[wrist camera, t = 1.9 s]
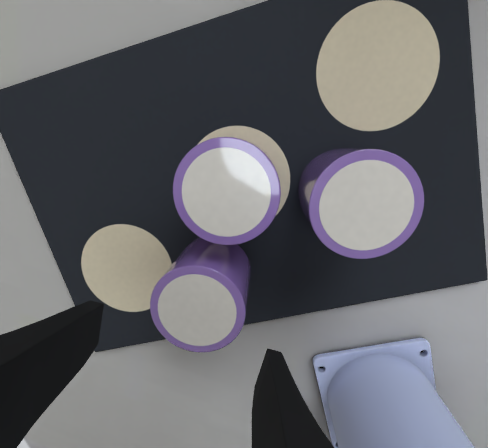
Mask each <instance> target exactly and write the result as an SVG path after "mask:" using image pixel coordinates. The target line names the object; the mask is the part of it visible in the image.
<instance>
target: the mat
mask: <svg viewBox="0 0 488 448" xmlns="http://www.w3.org/2000/svg"><path fill="white" fill-rule="evenodd" d="M0 132H1V134H2V137H3V139H4V141H5V144H6V146H7V148H8V151H9V153H10V155H11V158H12V160H13V162H14V165H15V167H16V169H17V172H18V174H19V176H20V179H21V181H22V183H23V186H24V188H25V190H26V192H27V195H28V197H29V199H30V202H31V204H32V206H33V209H34V211H35V213H36V216H37V218H38V220H39V223H40V225H41V227H42V230H43V232H44V234H45V237H46V239H47V241H48V244H49V246H50V248H51V251H52V253H53V255H54V258H55V260H56V262H57V265H58V267H59V269H60V272H61V274H62V276H63V279H64V281H65V283H66V286H67V288H68V290H69V293H70V295H71V297H72V300H73V302H74V304H75V306H77V305H79V304H82V303H84V302H87V301H90V300H92V301H95V302H99V303H103V304H104V308H103V315H102V322H101V329H100V336H99V342H98V345H97V347H96V348H95V350H94V351H95V352H98V351H104V350H109V349H114V348H120V347H125V346H131V345H136V344H142V343H147V342H153V341H158V340H164V339H166V338H165V337H164V336H163V335H162V334H161V333H160V332H159V331H158V329H157V328H156V326H155V324H154V322H153V319H152V316H151V311H150V299H151V294H152V291H153V289H154V287H155V285H156V284H157V282H158V281H159V280H160V278H161V277H162V276H163V275H164V273H165V272H166V271H167V270H168V269H169V267H170V266H171V265H172V264H173V262H174V261H175V260H176V259H177V258H178V256H179V255H180V254H181V253H182V251H183V250H184V249H185V248H186V247H187V246H188V245H189V244H190V243H191V242H193V241H194V240H196V239H198V238H200V237H199V236H197V235H196V234H195V233H193V232H192V231H191V230H190V229H189V228H188V227H187V226H186V225H185V223H184V222H183V221H182V219H181V217H180V216H179V214H178V212H177V209H176V206H175V203H174V198H173V181H174V176H175V173H176V170H177V168H178V165H179V164H180V162H181V160H182V159H183V158H184V156H185V155H186V154H187V153H188V152H189V151H190V150H191V149H192V148H194V147H195V146H196V145H198V144H200V143H202V142H204V141H206V140H209V139H212V138H217V137H234V138H239V139H242V140H246V141H249V142H252V143H254V144H256V145H258V146H259V147H261V148H262V149H263V150H264V151H265V152H266V153H267V154H268V155H269V156H270V158H271V159H272V161H273V163H274V165H275V168H276V171H277V174H278V177H279V180H280V187H281V197H280V204H279V208H278V211H277V213H276V216H275V217H274V219H273V221H272V222H271V224H270V225H269V226H268V228H267V229H266V230H265V231H264V232H262V233H261V234H260V235H259V236H257V237H255V238H254V239H252V240H250V241H247V242H244V243H241V244H237V245H238V246H240V247H241V248H242V250H243V251H244V252H245V254H246V255H247V257H248V259H249V262H250V267H251V277H250V285H249V293H248V300H247V308H246V315H245V321H244V325H245V324H251V323H256V322H262V321H267V320H272V319H278V318H283V317H289V316H294V315H300V314H305V313H311V312H316V311H321V310H327V309H332V308H338V307H343V306H349V305H354V304H360V303H365V302H371V301H376V300H381V299H387V298H392V297H398V296H403V295H409V294H414V293H420V292H425V291H430V290H436V289H441V288H447V287H452V286H458V285H463V284H469V283H474V282H479V281H485V280H487V266H486V252H485V238H484V224H483V211H482V197H481V183H480V169H479V155H478V141H477V127H476V113H475V99H474V85H473V71H472V57H471V43H470V29H469V16H468V2H467V0H268V1H265V2H262V3H259V4H256V5H253V6H250V7H247V8H244V9H241V10H238V11H235V12H232V13H229V14H226V15H223V16H220V17H217V18H214V19H211V20H208V21H205V22H202V23H199V24H196V25H193V26H190V27H187V28H184V29H181V30H178V31H175V32H172V33H169V34H166V35H163V36H160V37H157V38H154V39H151V40H148V41H145V42H142V43H139V44H136V45H133V46H130V47H127V48H124V49H121V50H118V51H115V52H112V53H109V54H106V55H103V56H100V57H97V58H94V59H91V60H88V61H85V62H82V63H79V64H76V65H73V66H70V67H67V68H64V69H61V70H58V71H55V72H52V73H49V74H46V75H43V76H40V77H37V78H34V79H31V80H28V81H25V82H22V83H19V84H16V85H13V86H10V87H7V88H4V89H1V90H0ZM341 148H349V149H379V150H384V151H388V152H391V153H394V154H396V155H398V156H400V157H401V158H403V159H404V160H405V161H407V162H408V163H409V164H410V165H411V166H412V167H413V169H414V170H415V171H416V173H417V174H418V176H419V178H420V181H421V183H422V186H423V192H424V208H423V212H422V216H421V219H420V221H419V223H418V225H417V227H416V229H415V230H414V232H413V233H412V235H411V236H410V237H409V238H408V239H407V240H406V241H405V242H404V243H403V244H402V245H400V246H399V247H398V248H396V249H395V250H393V251H391V252H389V253H387V254H384V255H382V256H378V257H375V258H368V259H356V258H349V257H345V256H342V255H339V254H337V253H335V252H333V251H332V250H330V249H329V248H327V247H326V246H325V245H324V244H323V243H322V242H321V241H320V239H319V238H318V237H317V235H316V234H315V232H314V230H313V228H312V227H311V225H310V223H309V221H308V219H307V217H306V216H305V214H304V212H303V210H302V208H301V206H300V203H299V199H298V184H299V180H300V177H301V175H302V173H303V171H304V169H305V168H306V167H307V165H308V164H309V163H310V162H311V161H312V160H313V159H314V158H316V157H317V156H318V155H320V154H322V153H324V152H326V151H329V150H333V149H341Z"/></svg>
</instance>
